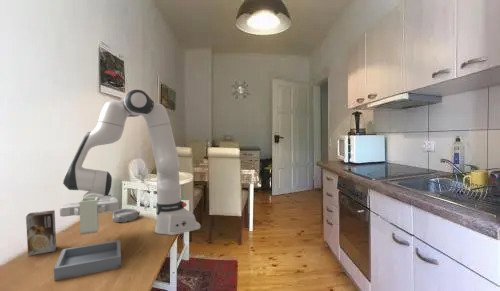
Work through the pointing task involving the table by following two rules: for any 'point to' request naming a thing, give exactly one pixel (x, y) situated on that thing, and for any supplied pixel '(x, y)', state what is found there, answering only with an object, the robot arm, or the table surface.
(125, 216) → the dish
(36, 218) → the coffee box
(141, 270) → the table surface
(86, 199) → the small tall open container
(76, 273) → the grey tray
